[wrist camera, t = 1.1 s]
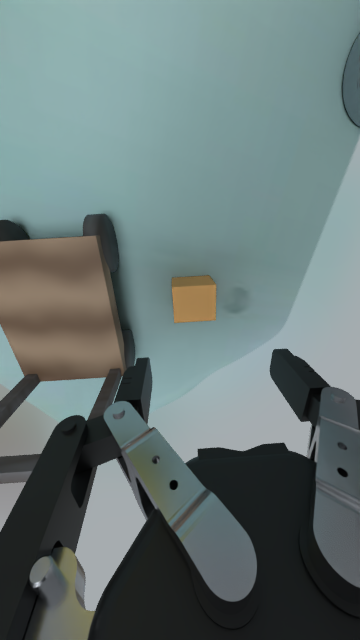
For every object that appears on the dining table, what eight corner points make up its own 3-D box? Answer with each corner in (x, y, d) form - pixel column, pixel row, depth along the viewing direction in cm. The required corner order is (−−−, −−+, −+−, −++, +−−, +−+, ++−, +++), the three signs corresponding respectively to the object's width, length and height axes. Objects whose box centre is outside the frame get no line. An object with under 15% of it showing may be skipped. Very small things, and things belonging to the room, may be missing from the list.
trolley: (10, 221, 24) (-355, 206, 7) (112, 215, 24) (-23, 187, 7) (60, 361, 32) (-59, 503, 16) (136, 356, 32) (98, 492, 16)
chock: (209, 275, 27) (216, 284, 23) (208, 305, 29) (215, 320, 25) (172, 277, 27) (171, 287, 23) (174, 308, 29) (174, 322, 25)
